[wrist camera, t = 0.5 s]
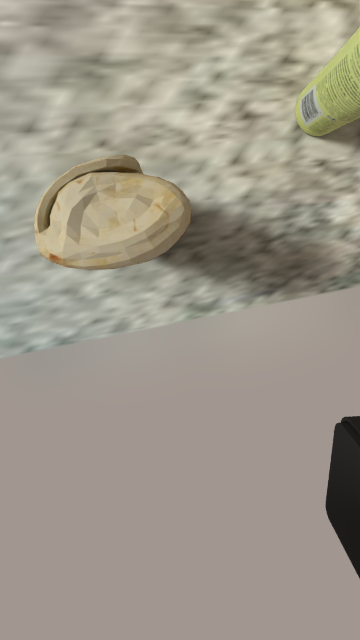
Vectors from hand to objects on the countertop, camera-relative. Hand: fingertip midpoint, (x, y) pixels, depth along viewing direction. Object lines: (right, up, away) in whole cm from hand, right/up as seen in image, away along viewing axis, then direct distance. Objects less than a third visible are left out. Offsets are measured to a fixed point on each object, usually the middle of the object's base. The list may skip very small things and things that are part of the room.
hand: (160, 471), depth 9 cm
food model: (-4, +15, +27) cm, 31 cm away
